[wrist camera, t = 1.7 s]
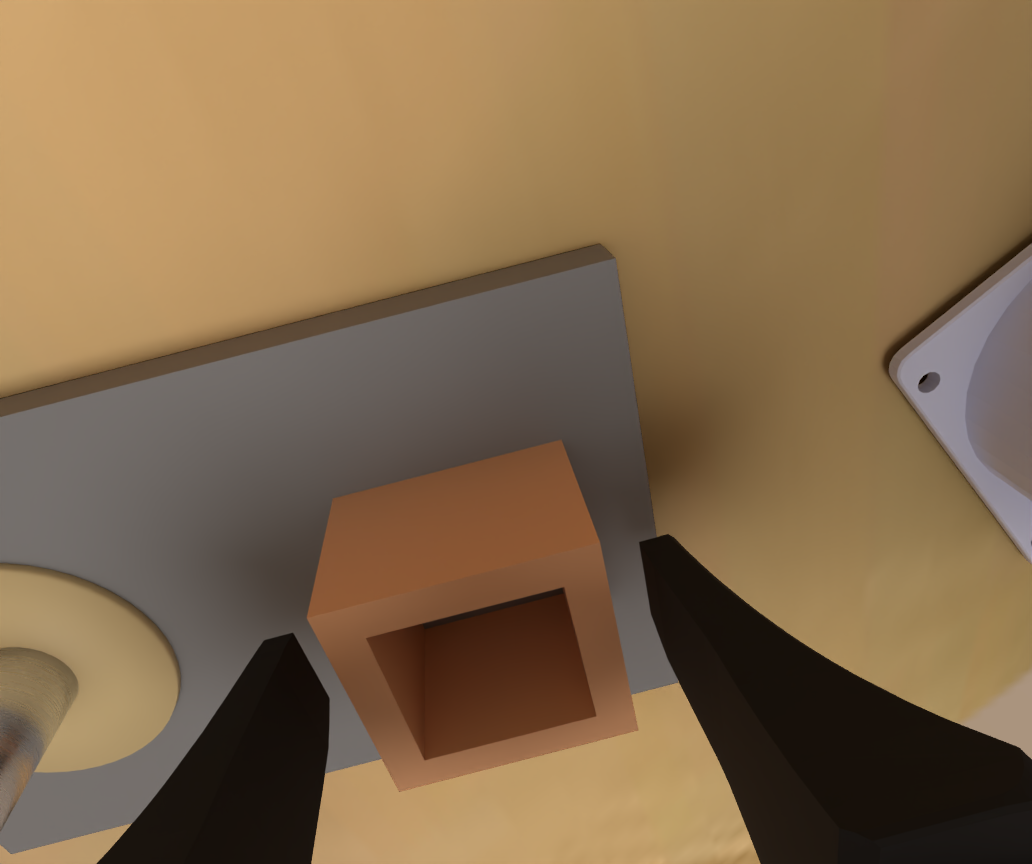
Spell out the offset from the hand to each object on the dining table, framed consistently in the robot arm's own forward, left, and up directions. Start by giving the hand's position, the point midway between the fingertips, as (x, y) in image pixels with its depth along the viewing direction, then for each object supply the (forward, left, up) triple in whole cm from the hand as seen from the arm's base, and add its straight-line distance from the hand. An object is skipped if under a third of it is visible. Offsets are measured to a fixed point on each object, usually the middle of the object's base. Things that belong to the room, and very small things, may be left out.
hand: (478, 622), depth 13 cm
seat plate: (+3, +4, -3) cm, 6 cm away
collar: (0, 0, -2) cm, 2 cm away
